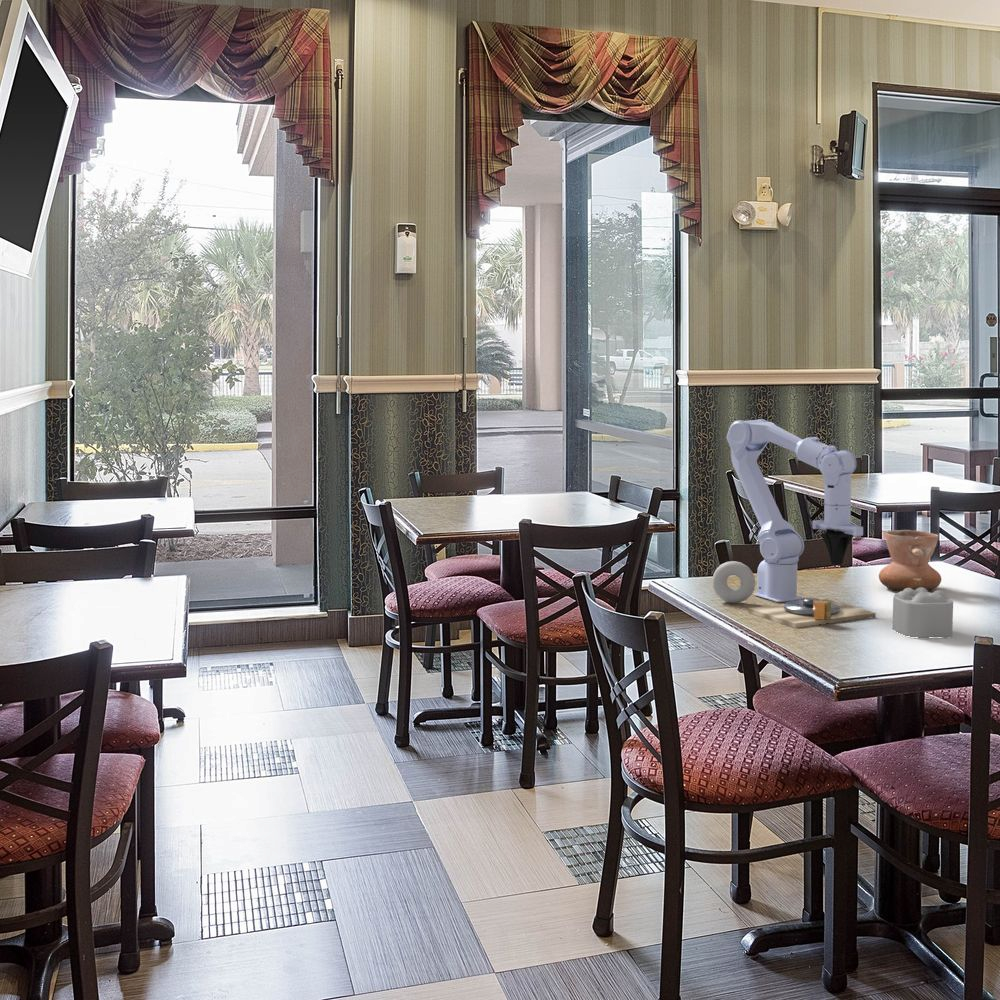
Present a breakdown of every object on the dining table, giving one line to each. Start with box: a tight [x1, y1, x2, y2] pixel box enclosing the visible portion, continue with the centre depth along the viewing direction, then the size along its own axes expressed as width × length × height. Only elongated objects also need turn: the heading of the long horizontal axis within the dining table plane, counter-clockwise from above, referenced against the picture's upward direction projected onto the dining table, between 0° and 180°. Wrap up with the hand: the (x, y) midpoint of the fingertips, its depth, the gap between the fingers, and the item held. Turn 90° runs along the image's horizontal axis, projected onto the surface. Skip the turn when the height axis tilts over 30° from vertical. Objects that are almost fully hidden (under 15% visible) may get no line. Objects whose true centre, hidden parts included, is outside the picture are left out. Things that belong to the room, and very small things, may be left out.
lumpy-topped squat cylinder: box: [891, 587, 954, 639], centre depth 223 cm, size 10×13×9 cm
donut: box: [711, 560, 756, 604], centre depth 252 cm, size 10×4×10 cm, turn 69°
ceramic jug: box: [878, 529, 942, 592], centre depth 265 cm, size 18×14×14 cm
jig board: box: [748, 598, 877, 629], centre depth 238 cm, size 17×22×5 cm
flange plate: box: [783, 597, 840, 619], centre depth 237 cm, size 12×16×4 cm
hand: (836, 563), depth 244 cm, fingers closed
